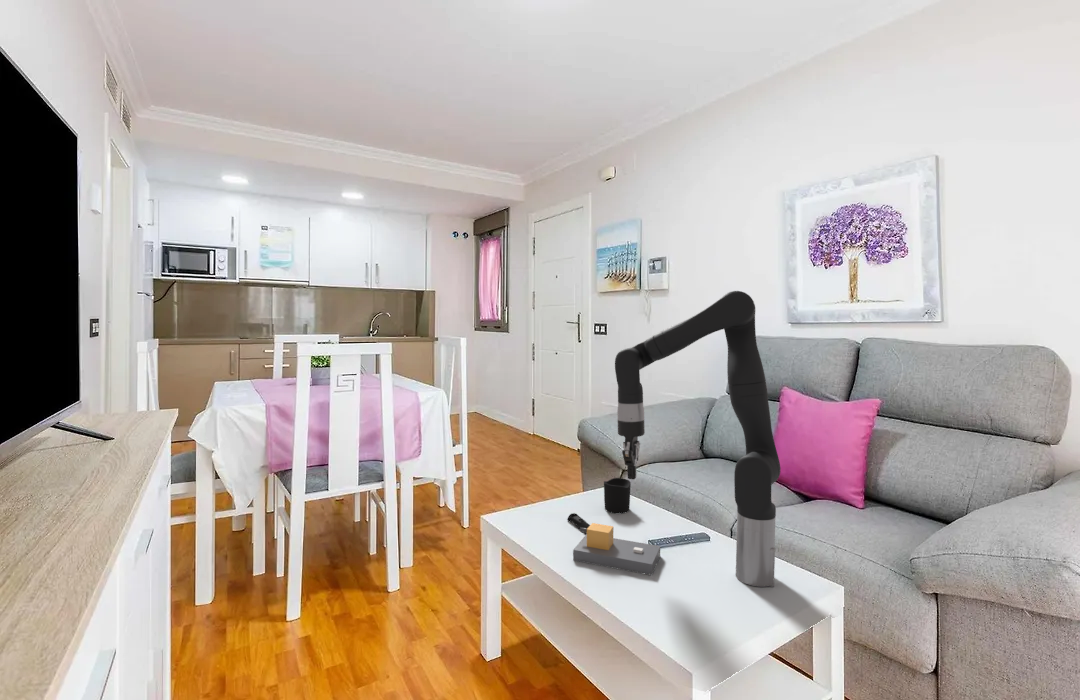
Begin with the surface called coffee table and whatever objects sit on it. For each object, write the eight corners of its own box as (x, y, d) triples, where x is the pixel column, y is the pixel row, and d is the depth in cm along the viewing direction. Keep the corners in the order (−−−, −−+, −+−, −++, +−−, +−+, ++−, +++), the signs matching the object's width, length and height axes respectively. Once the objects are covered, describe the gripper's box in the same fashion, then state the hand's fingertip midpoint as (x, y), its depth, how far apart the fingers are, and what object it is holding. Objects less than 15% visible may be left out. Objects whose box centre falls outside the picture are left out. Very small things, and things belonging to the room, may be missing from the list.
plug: (613, 553, 151) (613, 526, 151) (608, 560, 147) (608, 532, 146) (583, 547, 155) (583, 521, 155) (577, 554, 150) (577, 527, 150)
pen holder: (632, 514, 182) (632, 486, 181) (605, 514, 181) (605, 486, 181) (627, 504, 191) (627, 477, 190) (601, 504, 191) (602, 477, 190)
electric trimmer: (588, 539, 162) (588, 529, 162) (566, 521, 176) (566, 512, 176) (599, 537, 163) (599, 527, 163) (576, 519, 178) (576, 510, 177)
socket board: (660, 556, 150) (660, 543, 149) (651, 575, 138) (651, 561, 138) (586, 543, 158) (586, 530, 158) (573, 560, 147) (573, 546, 147)
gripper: (639, 422, 141) (640, 486, 142) (648, 415, 154) (649, 473, 154) (612, 421, 144) (613, 484, 145) (623, 414, 157) (624, 471, 157)
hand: (632, 478), depth 150 cm, fingers closed
